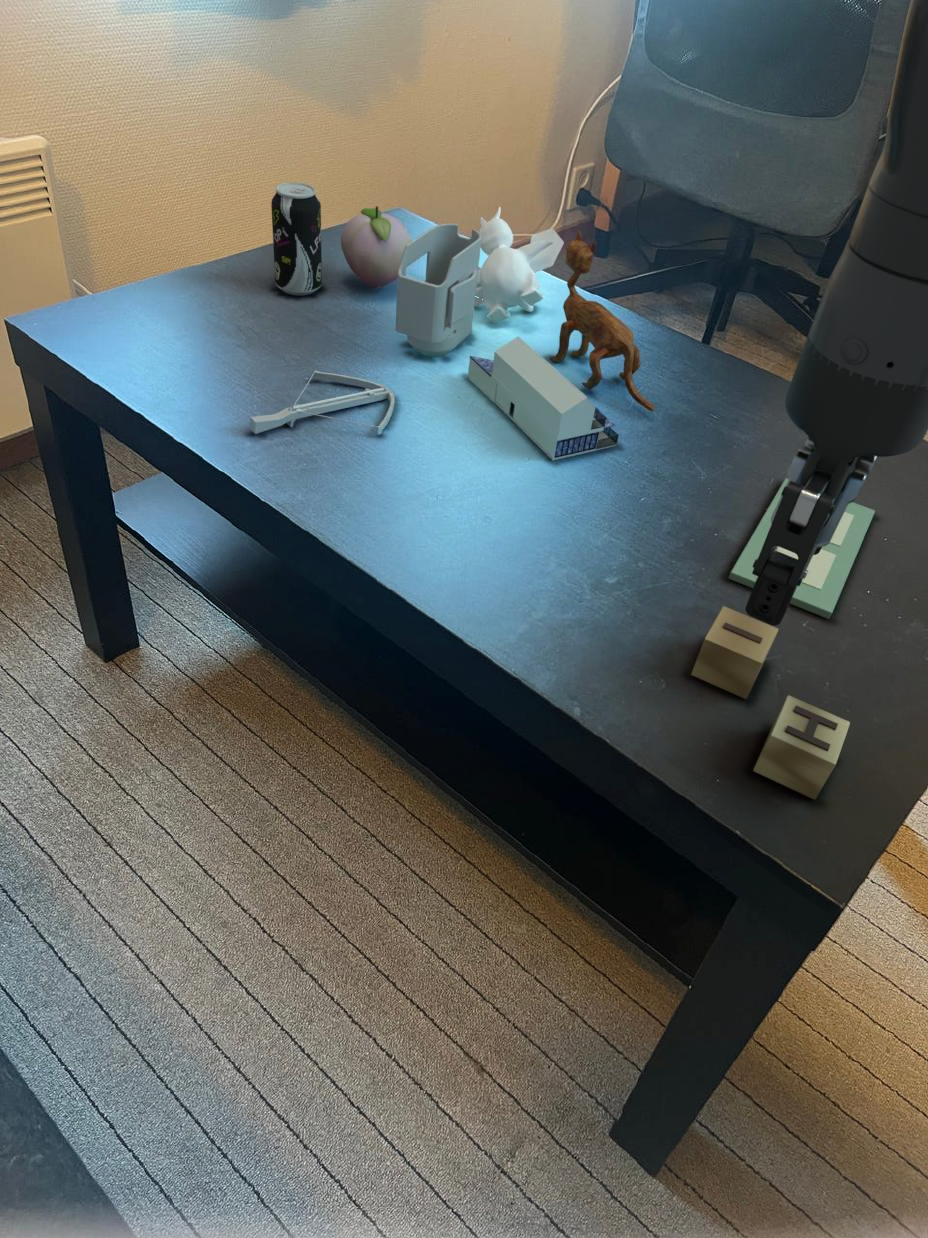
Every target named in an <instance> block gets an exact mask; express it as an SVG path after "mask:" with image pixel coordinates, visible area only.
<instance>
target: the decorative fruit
mask: <svg viewBox="0 0 928 1238" xmlns="http://www.w3.org/2000/svg"><path fill="white" fill-rule="evenodd" d="M411 241H412V237H411V235H410V232H409V231H408V229H407V228H406V226H405V225H404V224H403V223H402V222H401V221H400V220H399V219H397V218H396V217H394V216H393V215H390V214H387V213H384V212H382V211H381V210H379V206H378V205H375V208H373V207H370V208H368V207H364V208H362V209H361V210H360V213H359V214H357V215H355V216H354V217H352V218H351V219H349V220H348V221H347V223H346V224H345V225H344V227H343V230H342V232H341V234H340V246H341V250H342V254H343V256H344V258H345V262H346V263H347V265H348V267H349V268H350V270H351V271H352V272H353V273H354V275H355V276H356V277H357V278H359V279H360V280H361V281H362V282H363V283H364V284H365V285H367V286H369V287H371V288H373V289H376V288H380V287H384V286H387V285H390V284H392V283H394V282H395V281H397V280H398V269H399V265H400V262H401V258H402V255H403V251H404V248H405V245H406V244H408V243H409V242H411Z"/></svg>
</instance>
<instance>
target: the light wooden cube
mask: <svg viewBox="0 0 928 1238" xmlns="http://www.w3.org/2000/svg"><path fill="white" fill-rule="evenodd" d="M850 726H851V722H850V721H849V720H846V719H845V718H841V717H839V716H837V715H835V714H832V713H831V712H828V711H826V710H825V709H824V710H823V709H821V708H818V707H816V706H815V705H812V704H809V703H807V702H805V701H803V700H801V699H798V698H796V697H794V696H791V695H790V694H788V695H786V698H785V701H784V702H783V704H782V707H781V708H780V710H779V713H778V714H777V717H776V719H775V721H774V722H773V725H772V727H771V728H770V731H769V733H768V735H767V737H766V740H765V742H764V745H763V747H762V749H761V751H760V753H759V756H758V758H757V760H756V763H755V765H754V767H753V773H754V772H755V773H756V774H759V775H761V776H763V777H765V778H767V779H769V780H772V781H773V782H776V783H778V784H780V785H782V786H784V787H786V788H789V789H791V790H793V791H795V792H797V793H799V794H800V795H804V796H805V797H808V798H810V799H811V800H813V801H814V800H816V799H817V798H818V796H819V794H820V793H821V790H822V789H823V787H824V786H825V784H826V782H827V780H828V779H829V777H830V775H831V774H832V772H833V770H834V768H835V767H836V765H837V762H838V759H839V757H840V755H841V751H842V748H843V745H844V742H845V739H846V737H847V734H848V732H849V731H848V730H849V729H850Z"/></svg>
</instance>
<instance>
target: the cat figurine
mask: <svg viewBox="0 0 928 1238" xmlns="http://www.w3.org/2000/svg"><path fill="white" fill-rule="evenodd" d="M597 244H598V241H597V240H595V241H593V242H592V243H590V244H587V243H586V242H584V241H583V236H582V233H581V231H580V230H578V231H577V232H576V237H575V239H574V240H572V241H569V242H568V243H567V244H566V247H565V264H566V266H567V267H568V268H569V269H571V270H572V272H573V274H571V275H570V277H569V278H568V280H567V283H566V286H567V288H568V292H569V295H568V296H567V297H566V299H565V300H564V302H563V306H562V309H563V312H564V316H565V320H566V321H564V322H562V323H561V325H560V331H559V336H558V337H559V338H558V339H559V340H558V350H557V353H556V354H555V355H551V356H550V357H549V359H550V360H551V361H552V362H555V363H560V362H564V361H565V360H566V358H567V356H568V352H569V347H570V338H571V335H572V333H573V332H575V331H577V332H579V333H580V334H581V342H580V346H579V348H578V349H577V350H572V351H571V355H572V356H574V357H577V358H579V357H584V356H585V355H586V354H587V353H588V350H589V347H590V344H591V345H592V346H593V348H594V349H593V350H591V351H590V353H589V356H588V365H589V367H590V370H591V373H592V374H591V376H589V377H588V379H587V380H586V381H585V382H584V381H583V382H581V385H582V387H584V388H586V389H587V390H590V391H592V390H593V389H594V388H595V387H597V386H598V385H599V384H600V383H601V382H602V379H603V374H602V369H601V360H604V359H611V358H615V357H618V356H622V355H623V358H624V360H623V361H624V362H623V371H621V372H619V373H618V376H619V378H620V379H621V380H622V381H624V384H625V387H626V390H627V392H628V394H629V395H630V397H631V398H632V399H634V401H635V402H637V403H638V404H639V405H640V406H642V407H644V408H645V409H646V410H648V411H651V412H654V411H655V410H656V407H655V406H654V405H653V403H651V402H650V401H649V400H647V399H646V398H645V397H643V396H642V394H641V393H640V392H639V391H638V389H637V387H636V386H635V383H634V380H633V375H634V374H635V373H636V372H637V371H638V370H639V369H640V367H641V365H642V362H641V355H640V348H639V347H638V346H637V345H636V344H635V337H634V333H633V331H632V329H631V328H630V327H629V326H628V325H627V324H625V323H624V322H623V321H622V320H621V319H619V318H618V317H617V316H616V315H615V314H613V313H612V312H611V311H610V310H609V309H607V307H606V306H604V305H603V304H601V303H599V302H598V301H594V300H587V299H586V298H584V297H583V296H582V295H581V294H579V292H578V291H577V289H576V286H575V285H576V283H577V282H578V280H579V278H580V276H581V275H583V274H588V273H589V272H590V270H591V267H592V263H593V257H594V253H595V252H596V249H597Z"/></svg>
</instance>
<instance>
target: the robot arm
mask: <svg viewBox="0 0 928 1238" xmlns="http://www.w3.org/2000/svg"><path fill="white" fill-rule="evenodd" d="M902 31H903V32H902V37H901V41H900V47H899V52H898V58H897V64H896V67H895V68H896V69H895V72H894V79H893V83H892V89H891V93H890V94H891V95H890V99H889V106H888V114H887V123H886V132H885V138H884V143H883V148H882V150H881V153H880V156H879V158H878V160H877V162H876V164H875V167H874V170H873V171H872V174H871V177H870V179H869V183H868V185H867V187H866V191H865V194H864V196H863V198H862V201H861V204H860V206H859V209H858V212H857V215H856V218H855V221H854V223H853V226H852V229H851V232H850V233H849V237H848V239H847V242H846V244H845V246H844V249H843V250H842V253H841V255H840V257H839V259H838V261H837V263H836V264H835V266H834V268H833V270H832V272H831V274H830V276H829V278H828V280H827V283H826V284H825V288H824V290H823V293H822V295H821V298H820V301H819V303H818V306H817V309H816V311H815V314H814V318H813V321H812V323H811V326H810V329H809V331H808V333H807V337H806V339H805V342H804V344H803V348H802V351H801V353H800V355H799V359H798V361H797V364H796V367H795V370H794V373H793V375H792V377H791V378H792V379H791V381H790V384H789V386H788V389H787V392H786V394H785V399H784V406H785V410H786V411H785V412H786V413H787V415H788V417H789V419H790V420H791V422H792V423H793V424H794V425H795V426H796V427H797V428H798V429H799V430H801V431H802V432H804V434H806V435H807V438H806V440H805V442H804V443H803V444H804V445H803V447H802V449H800V448H798V449H797V451H796V453H795V455H794V456H793V459H792V461H791V463H790V465H789V468H788V469H787V477H788V479H789V480H788V482H787V485H786V486H785V487H784V489H783V491H782V494H781V497H780V499H779V502H778V504H777V506H776V508H775V510H774V512H773V514H772V516H771V527H770V529H769V532H768V534H767V537H766V539H765V542H764V544H763V547H762V549H761V552H760V554H759V557H758V559H756V560H755V562H754V564H753V568H754V569H753V572H752V574H754V575H756V576H758V577H757V580H756V582H755V585H754V587H753V588H752V590H751V593H750V595H749V598H748V600H747V603H746V605H745V608H744V610H745V613H746V614H747V616H749V617H751V618H754V619H756V620H758V621H761V622H763V623H766V624H768V625H770V626H773V627H775V626H779V625H780V624H781V623H782V621H783V619H784V618H785V615H786V613H787V611H788V608H789V606H790V605H791V604H790V602H791V599H792V597H793V595H794V593H795V590H796V588H797V586H800V584H801V582H802V580H803V578H804V579H805V577H806V575H807V573H808V570H806V569H807V567H808V565H809V563H810V561H811V559H812V557H813V555H816V554H818V553H819V552H820V550H821V549H822V547H824V546H826V545H828V544H829V543H830V541H831V539H832V537H833V535H834V533H835V530H836V528H837V526H838V524H839V522H840V520H841V518H842V516H843V514H844V512H845V510H846V508H847V506H848V504H850V503H852V502H853V503H854V502H855V501H856V499H857V498H858V496H859V493H860V491H861V490H862V487H863V485H864V483H865V481H866V480H867V479H868V478H869V475H870V473H871V471H872V469H873V467H874V465H875V464H876V461H877V459H878V458H884V457H885V458H886V457H894V456H900V455H902V454H906V453H908V452H910V451H913V449H915V448H917V447H918V446H919V445H920V444H921V443H922V442H923V441H924V439H925V437H926V435H927V432H928V0H910V3H909V7H908V10H907V14H906V19H905V23H904V27H903V30H902ZM778 546H779V547H781V548H784V549H786V550H788V551H791V552H793V553H795V554H797V556H798V559H795V558H793V557H790V556H788V555H785V554H783V553H781V552H778V551H776V550H777V548H778Z"/></svg>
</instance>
